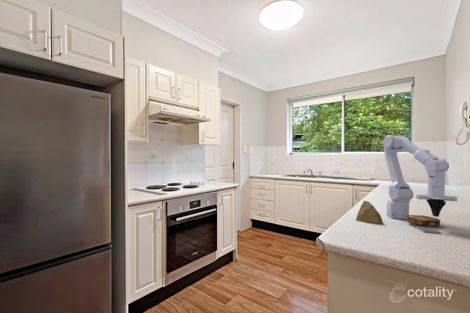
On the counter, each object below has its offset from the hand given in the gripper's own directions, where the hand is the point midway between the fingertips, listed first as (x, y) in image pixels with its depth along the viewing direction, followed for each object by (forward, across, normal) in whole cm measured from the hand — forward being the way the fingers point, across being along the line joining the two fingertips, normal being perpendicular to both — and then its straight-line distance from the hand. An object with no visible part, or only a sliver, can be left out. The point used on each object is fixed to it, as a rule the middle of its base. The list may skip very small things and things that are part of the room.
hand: (435, 216), depth 102 cm
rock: (+6, -26, +2) cm, 27 cm away
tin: (+4, -1, +1) cm, 4 cm away
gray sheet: (+6, -5, 0) cm, 7 cm away
